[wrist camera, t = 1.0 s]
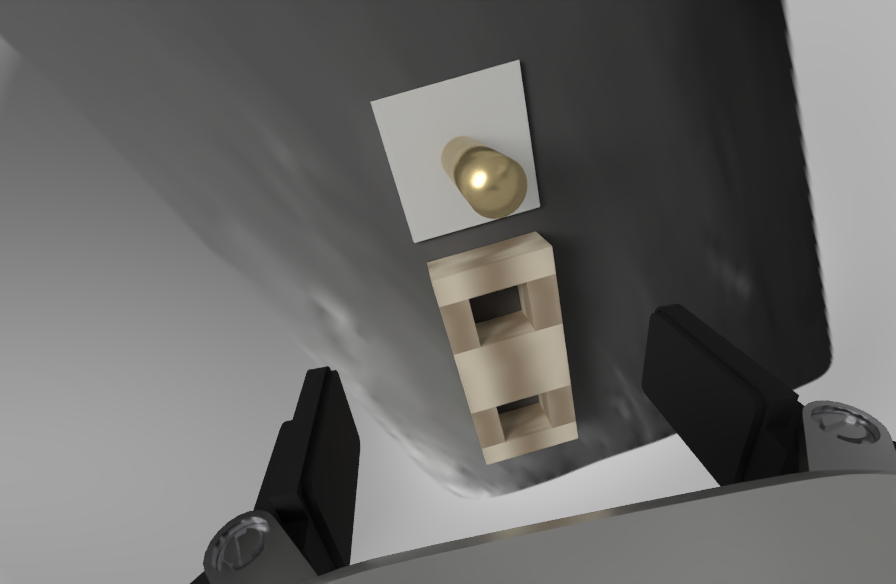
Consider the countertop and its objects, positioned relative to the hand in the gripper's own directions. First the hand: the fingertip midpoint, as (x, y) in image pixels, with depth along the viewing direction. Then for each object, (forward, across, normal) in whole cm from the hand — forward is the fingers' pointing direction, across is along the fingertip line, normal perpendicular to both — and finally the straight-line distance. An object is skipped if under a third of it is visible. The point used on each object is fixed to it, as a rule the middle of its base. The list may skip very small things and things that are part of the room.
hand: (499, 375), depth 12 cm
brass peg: (+20, -2, -3) cm, 20 cm away
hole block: (+20, -4, +14) cm, 25 cm away
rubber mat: (+20, -2, -3) cm, 21 cm away
